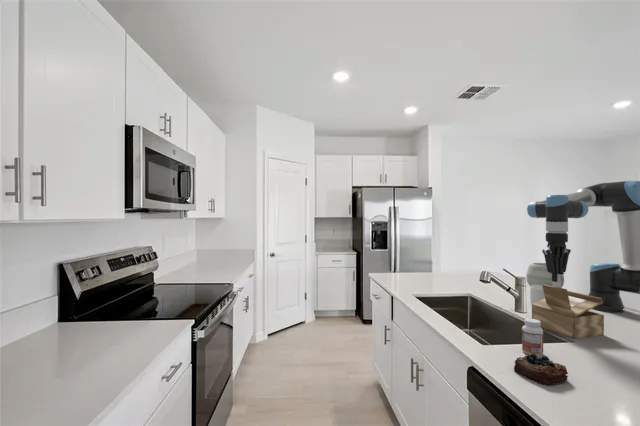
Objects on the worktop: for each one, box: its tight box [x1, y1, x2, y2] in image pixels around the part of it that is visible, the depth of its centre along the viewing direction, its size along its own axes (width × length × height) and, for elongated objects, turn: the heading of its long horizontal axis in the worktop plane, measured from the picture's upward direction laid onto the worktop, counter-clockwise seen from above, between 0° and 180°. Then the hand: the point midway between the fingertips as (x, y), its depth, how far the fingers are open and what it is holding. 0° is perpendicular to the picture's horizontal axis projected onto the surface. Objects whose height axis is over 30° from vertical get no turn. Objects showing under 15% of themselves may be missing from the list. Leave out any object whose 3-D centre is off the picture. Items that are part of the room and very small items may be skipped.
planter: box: [525, 262, 565, 288], centre depth 172 cm, size 16×16×22 cm
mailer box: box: [531, 306, 605, 340], centre depth 139 cm, size 16×18×8 cm
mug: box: [529, 285, 545, 307], centre depth 161 cm, size 15×11×13 cm
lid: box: [532, 284, 603, 317], centre depth 139 cm, size 16×18×9 cm
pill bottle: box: [521, 318, 544, 357], centre depth 115 cm, size 6×6×11 cm
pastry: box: [513, 354, 569, 386], centre depth 99 cm, size 11×12×6 cm
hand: (556, 289), depth 138 cm, fingers closed
